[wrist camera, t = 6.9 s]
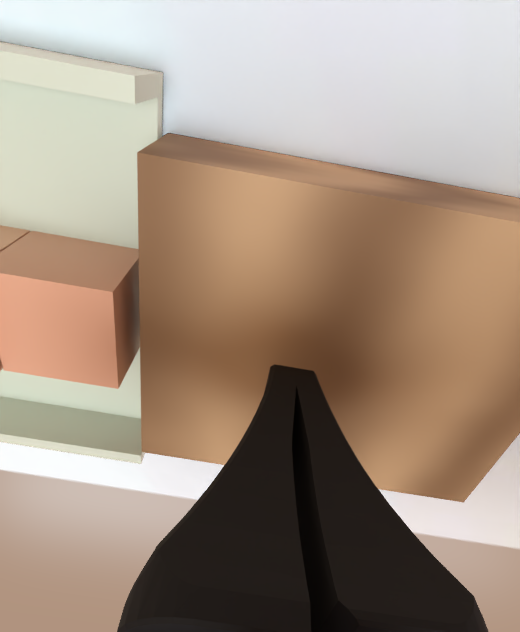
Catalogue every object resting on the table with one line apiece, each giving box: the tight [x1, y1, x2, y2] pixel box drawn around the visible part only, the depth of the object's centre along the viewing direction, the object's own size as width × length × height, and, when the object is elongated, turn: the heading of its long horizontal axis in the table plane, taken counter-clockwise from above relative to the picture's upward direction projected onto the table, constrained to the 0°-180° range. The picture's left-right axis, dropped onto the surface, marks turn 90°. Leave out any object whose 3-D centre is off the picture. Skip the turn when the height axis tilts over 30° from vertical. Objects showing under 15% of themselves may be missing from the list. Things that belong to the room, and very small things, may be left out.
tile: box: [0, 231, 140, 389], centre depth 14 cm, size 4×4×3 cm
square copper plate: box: [137, 133, 520, 502], centre depth 15 cm, size 14×12×3 cm
